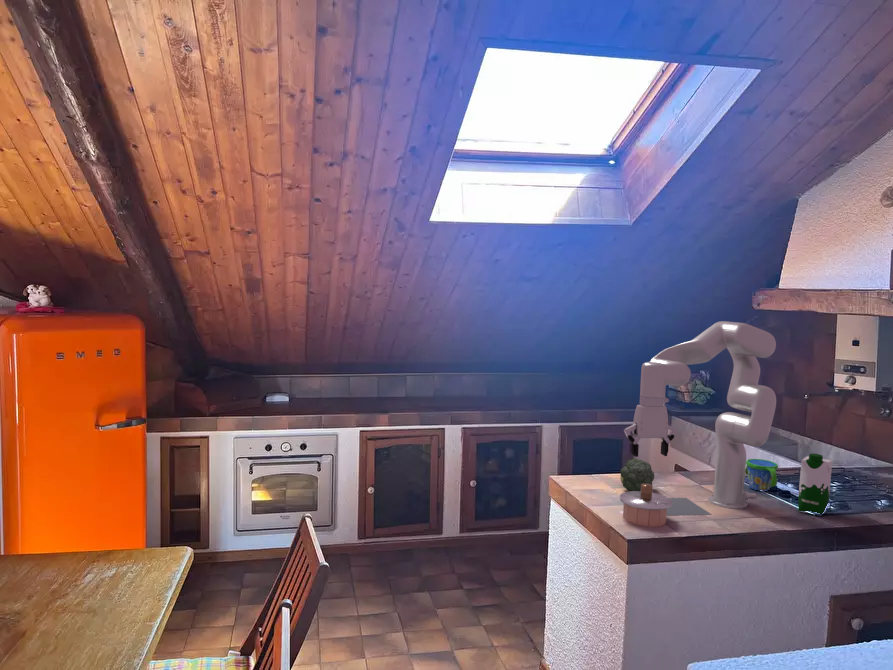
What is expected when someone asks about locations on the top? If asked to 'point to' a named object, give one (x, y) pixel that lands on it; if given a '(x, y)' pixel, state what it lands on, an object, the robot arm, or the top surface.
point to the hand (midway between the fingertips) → (649, 455)
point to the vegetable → (636, 474)
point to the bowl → (644, 516)
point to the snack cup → (761, 474)
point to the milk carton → (814, 483)
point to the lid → (646, 499)
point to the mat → (685, 508)
